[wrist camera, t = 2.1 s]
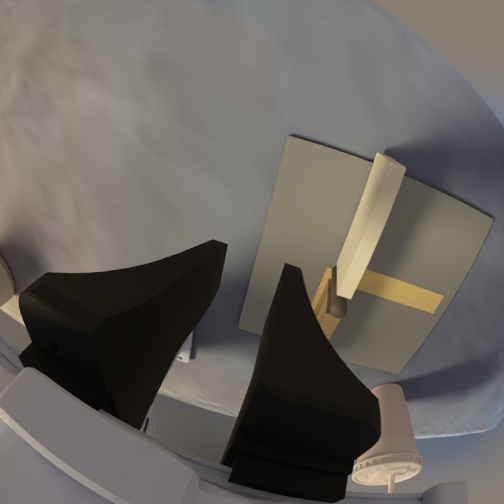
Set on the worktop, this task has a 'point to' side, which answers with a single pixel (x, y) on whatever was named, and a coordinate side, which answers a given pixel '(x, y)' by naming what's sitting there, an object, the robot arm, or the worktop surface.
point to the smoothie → (390, 443)
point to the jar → (5, 283)
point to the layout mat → (381, 262)
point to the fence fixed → (330, 306)
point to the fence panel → (368, 222)
